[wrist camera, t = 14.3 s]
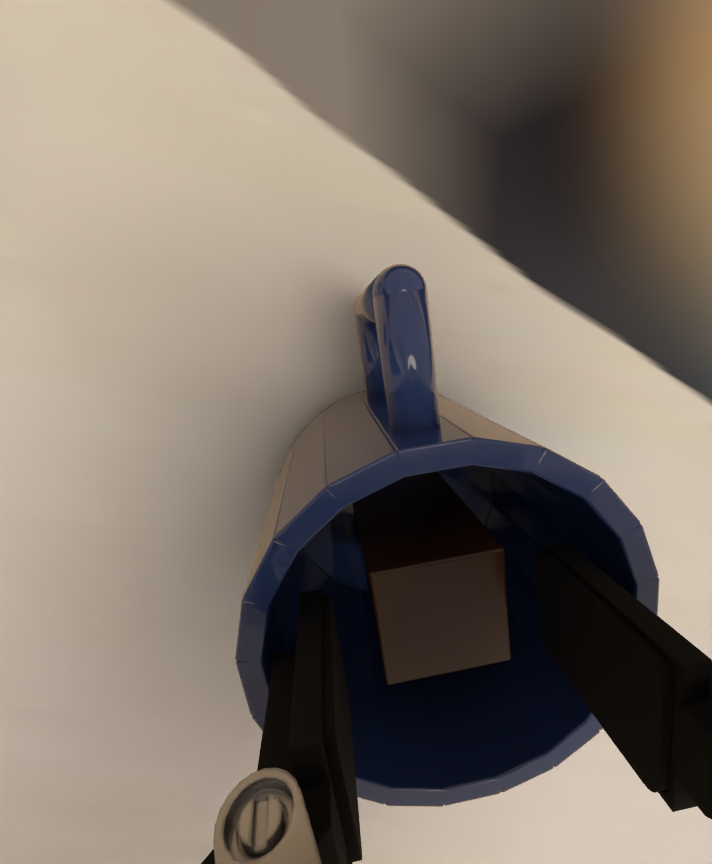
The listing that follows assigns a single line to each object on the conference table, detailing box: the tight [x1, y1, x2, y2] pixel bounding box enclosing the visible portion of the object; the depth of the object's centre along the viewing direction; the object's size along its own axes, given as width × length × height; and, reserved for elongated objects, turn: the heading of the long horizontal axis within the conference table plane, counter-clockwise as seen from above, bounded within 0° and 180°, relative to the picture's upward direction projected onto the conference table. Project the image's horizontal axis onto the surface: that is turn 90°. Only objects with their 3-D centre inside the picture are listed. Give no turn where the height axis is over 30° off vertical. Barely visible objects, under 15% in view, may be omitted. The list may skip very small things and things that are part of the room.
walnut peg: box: [353, 471, 511, 685], centre depth 13 cm, size 3×3×7 cm
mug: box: [235, 264, 659, 807], centre depth 13 cm, size 13×10×8 cm
